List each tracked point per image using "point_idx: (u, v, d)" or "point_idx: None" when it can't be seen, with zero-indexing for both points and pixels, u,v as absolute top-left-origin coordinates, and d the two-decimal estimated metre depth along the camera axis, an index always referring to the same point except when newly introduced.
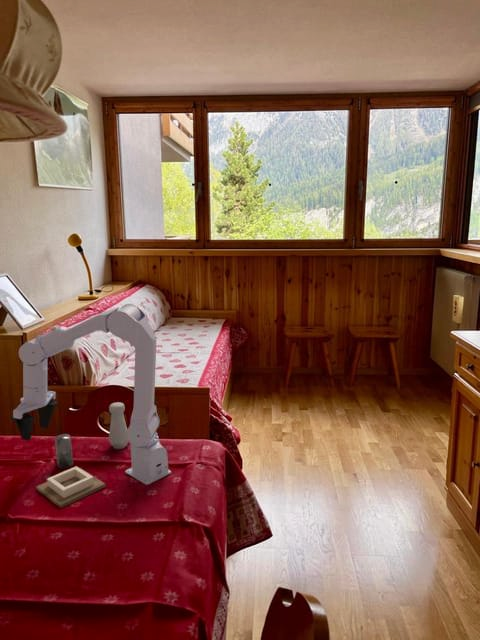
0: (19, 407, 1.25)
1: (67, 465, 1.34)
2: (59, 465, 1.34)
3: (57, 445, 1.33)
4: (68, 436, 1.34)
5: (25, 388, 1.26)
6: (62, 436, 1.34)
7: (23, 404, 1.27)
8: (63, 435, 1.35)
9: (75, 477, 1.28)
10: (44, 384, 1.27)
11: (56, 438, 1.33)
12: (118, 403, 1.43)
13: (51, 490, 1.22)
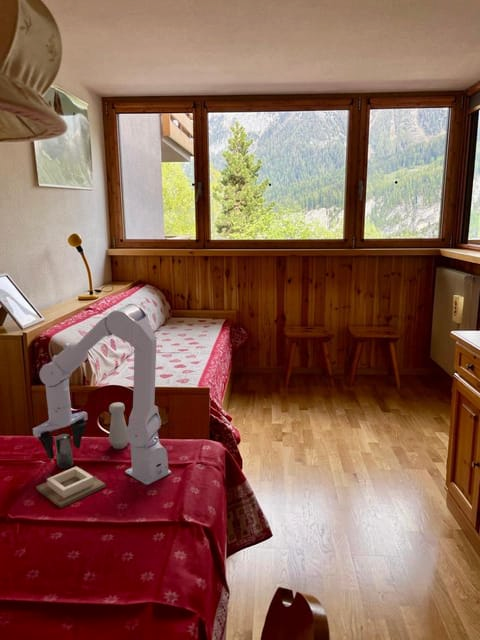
0: (41, 425, 1.30)
1: (67, 465, 1.34)
2: (59, 465, 1.34)
3: (57, 445, 1.33)
4: (68, 436, 1.35)
5: (48, 408, 1.31)
6: (62, 436, 1.34)
7: (48, 423, 1.32)
8: (63, 435, 1.35)
9: (75, 477, 1.28)
10: (67, 404, 1.31)
11: (56, 438, 1.33)
12: (118, 403, 1.43)
13: (51, 490, 1.22)
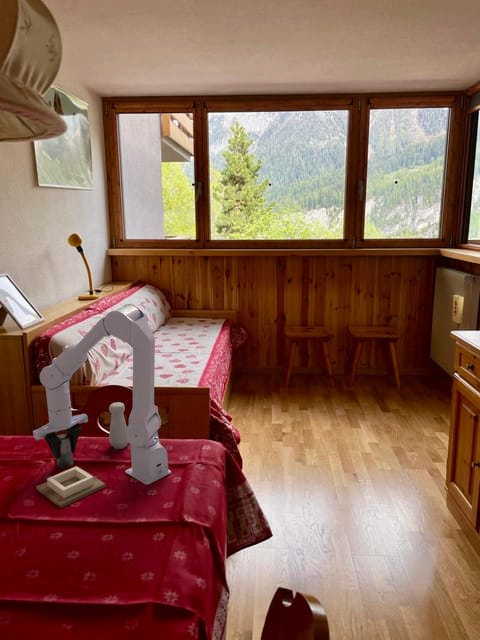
0: (41, 428, 1.30)
1: (67, 465, 1.34)
2: (59, 465, 1.34)
3: None
4: (68, 436, 1.34)
5: (48, 410, 1.31)
6: (62, 436, 1.34)
7: (48, 425, 1.32)
8: (63, 435, 1.35)
9: (75, 477, 1.28)
10: (67, 406, 1.31)
11: None
12: (118, 403, 1.43)
13: (51, 490, 1.22)
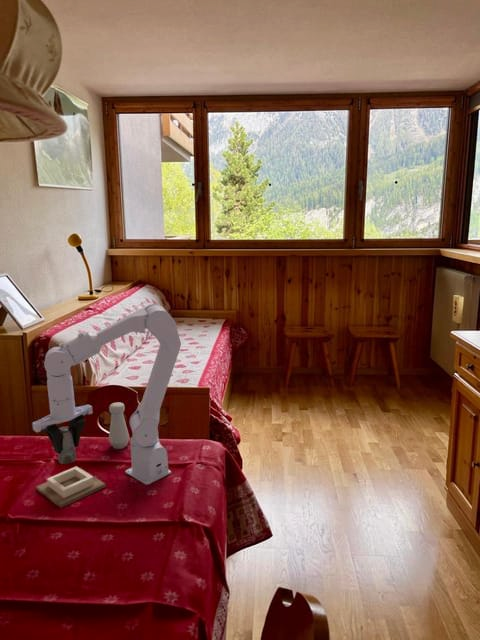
0: (42, 419, 1.19)
1: (69, 460, 1.22)
2: (60, 460, 1.23)
3: None
4: (70, 429, 1.23)
5: (49, 400, 1.19)
6: (64, 429, 1.23)
7: (49, 417, 1.21)
8: (65, 427, 1.24)
9: (75, 477, 1.28)
10: (73, 393, 1.20)
11: None
12: (118, 403, 1.43)
13: (51, 490, 1.22)
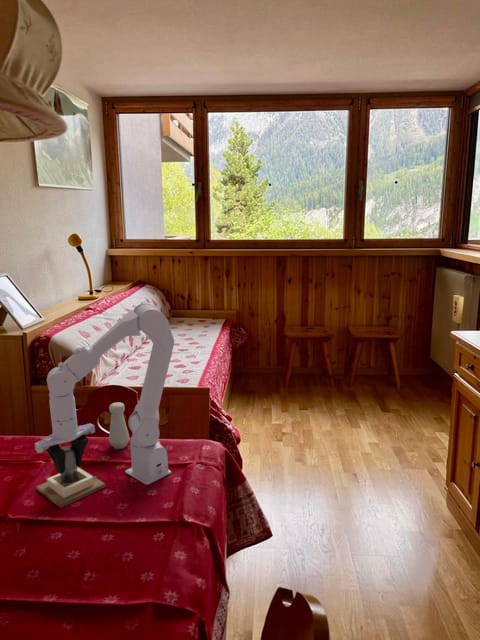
0: (44, 440, 1.18)
1: (71, 480, 1.22)
2: (62, 480, 1.22)
3: None
4: (73, 448, 1.22)
5: (51, 420, 1.19)
6: (67, 448, 1.23)
7: (52, 437, 1.20)
8: (67, 447, 1.23)
9: None
10: (75, 413, 1.20)
11: None
12: (118, 403, 1.43)
13: (51, 490, 1.22)
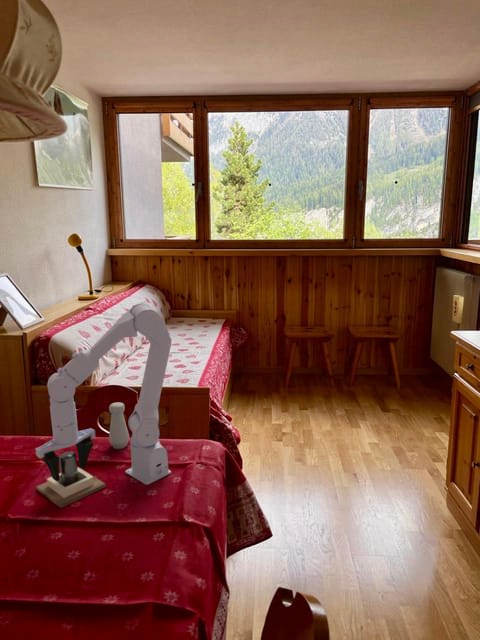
0: (45, 445, 1.19)
1: None
2: None
3: (61, 464, 1.21)
4: (73, 454, 1.23)
5: (52, 425, 1.19)
6: (67, 454, 1.23)
7: (52, 442, 1.20)
8: (68, 453, 1.24)
9: None
10: (76, 418, 1.21)
11: (60, 456, 1.22)
12: (118, 403, 1.44)
13: (51, 490, 1.22)
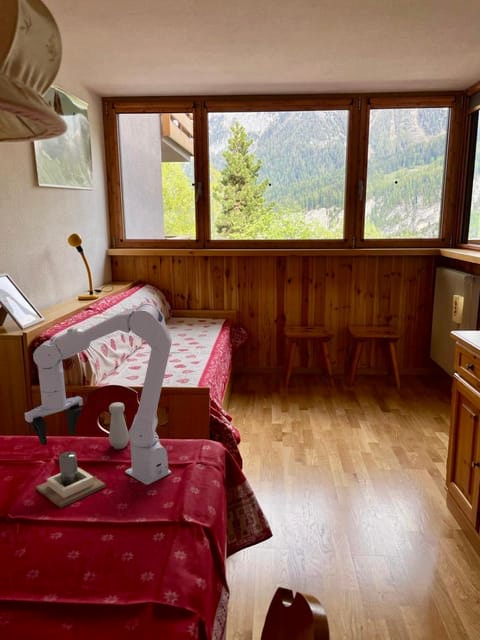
0: (34, 410, 1.23)
1: None
2: None
3: (61, 464, 1.21)
4: (73, 454, 1.23)
5: None
6: (67, 454, 1.23)
7: (41, 408, 1.25)
8: (68, 453, 1.24)
9: None
10: (62, 386, 1.24)
11: (60, 456, 1.22)
12: (118, 403, 1.43)
13: (51, 490, 1.22)
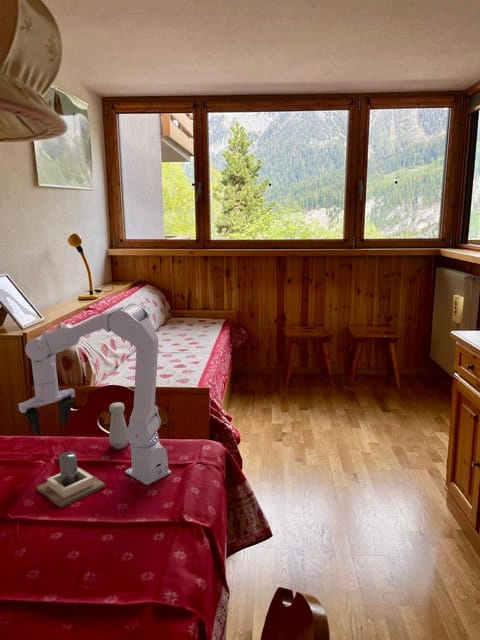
0: (27, 401, 1.29)
1: None
2: None
3: (61, 464, 1.21)
4: (73, 454, 1.23)
5: (34, 383, 1.29)
6: (67, 454, 1.23)
7: (34, 399, 1.30)
8: (68, 453, 1.24)
9: None
10: (53, 379, 1.29)
11: (60, 456, 1.22)
12: (118, 403, 1.43)
13: (51, 490, 1.22)
